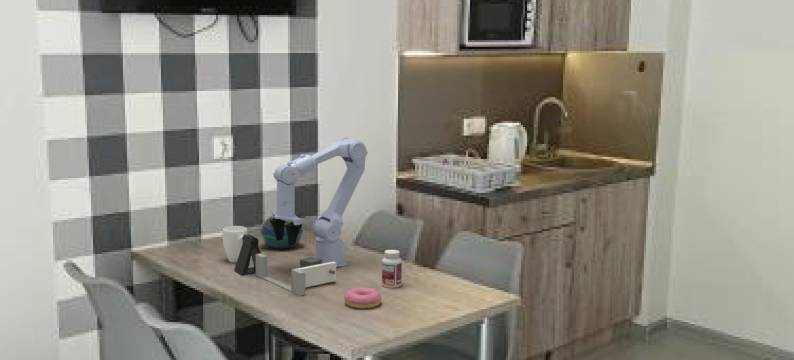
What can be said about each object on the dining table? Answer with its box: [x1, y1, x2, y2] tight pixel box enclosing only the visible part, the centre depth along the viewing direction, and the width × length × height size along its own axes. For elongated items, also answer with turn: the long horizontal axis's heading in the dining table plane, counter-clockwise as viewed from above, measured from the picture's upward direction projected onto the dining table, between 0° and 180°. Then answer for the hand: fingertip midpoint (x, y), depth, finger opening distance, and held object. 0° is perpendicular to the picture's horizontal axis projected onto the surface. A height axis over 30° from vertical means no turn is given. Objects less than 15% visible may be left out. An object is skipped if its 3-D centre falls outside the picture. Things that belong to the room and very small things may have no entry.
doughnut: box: [343, 286, 382, 310], centre depth 235 cm, size 11×11×4 cm
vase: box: [260, 215, 304, 250], centre depth 296 cm, size 15×15×13 cm
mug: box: [222, 225, 248, 264], centre depth 275 cm, size 12×8×11 cm
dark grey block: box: [299, 256, 322, 268], centre depth 258 cm, size 5×8×6 cm, turn 50°
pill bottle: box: [381, 249, 403, 289], centre depth 253 cm, size 6×6×11 cm
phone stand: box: [233, 233, 262, 276], centre depth 264 cm, size 9×6×12 cm, turn 125°
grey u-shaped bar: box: [255, 253, 306, 297], centre depth 251 cm, size 2×26×7 cm, turn 40°
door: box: [294, 262, 337, 288], centre depth 250 cm, size 3×15×6 cm, turn 130°
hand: (285, 242), depth 264 cm, fingers open, 7 cm apart
